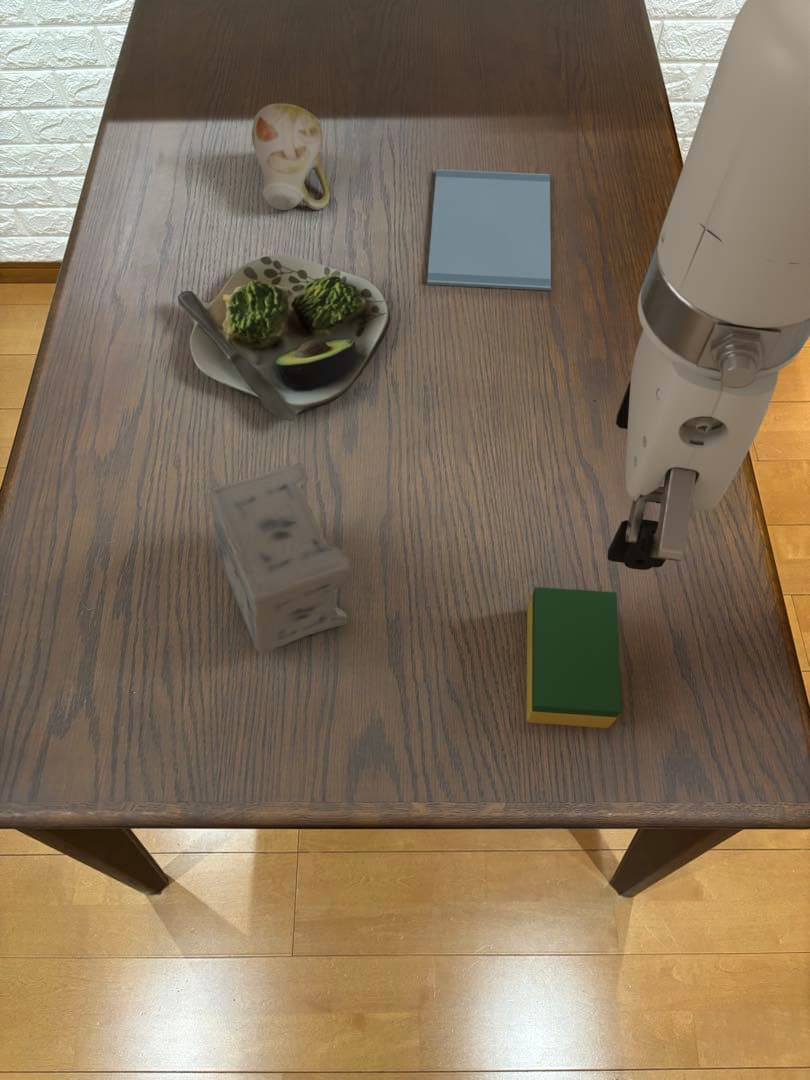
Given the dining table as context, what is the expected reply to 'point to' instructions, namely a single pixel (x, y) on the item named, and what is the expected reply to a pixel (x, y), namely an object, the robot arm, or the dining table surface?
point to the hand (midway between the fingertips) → (636, 490)
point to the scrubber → (573, 658)
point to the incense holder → (277, 558)
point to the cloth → (490, 230)
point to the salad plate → (288, 332)
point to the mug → (288, 155)
